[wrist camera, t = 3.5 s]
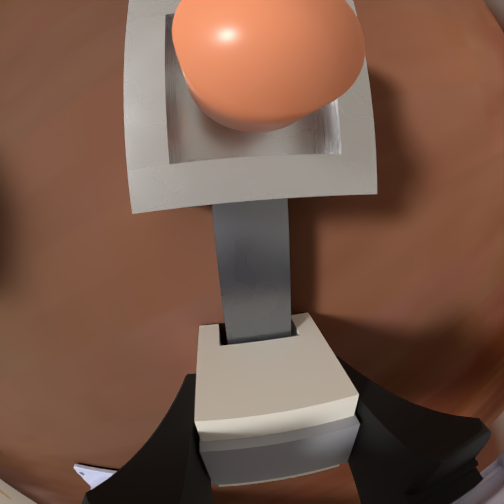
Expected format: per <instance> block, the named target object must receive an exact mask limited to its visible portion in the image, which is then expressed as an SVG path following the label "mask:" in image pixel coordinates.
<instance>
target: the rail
mask: <svg viewBox="0 0 504 504" xmlns="http://www.w3.org/2000/svg"><path fill="white" fill-rule="evenodd" d="M212 213H213V223H214V233H215V243H216V252H217V261H218V270H219V279H220V287H221V296H222V304H223V312H224V320H225V327H226V335H227V342H228V345H232V344H241V343H249V342H257V341H265V340H272V339H279V338H286V337H291V284H290V247H289V220H288V199H273V200H260V201H248V202H236V203H225V204H215V205H212Z"/></svg>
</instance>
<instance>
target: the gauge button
mask: <svg viewBox="0 0 504 504" xmlns="http://www.w3.org/2000/svg"><path fill="white" fill-rule="evenodd" d="M172 38H173V44H174V47H175V51H176V54H177V57H178V60H179V63H180V66H181V69H182V72H183V75H184V78H185V81H186V84H187V87H188V90H189V92H190V94H191V97H192V98H193V100H194V101H195V103H196V105H197V106H198V107H199V108H200V109H201V110H202V111H203V112H204V113H205V114H206V115H207V116H208V117H210V118H211V119H213V120H214V121H215V122H217V123H219V124H221V125H223V126H225V127H228V128H231V129H234V130H238V131H242V132H250V133H262V132H270V131H275V130H278V129H281V128H284V127H287V126H288V125H290V124H292V123H294V122H296V121H298V120H300V119H301V118H303V117H305V116H307V115H309V114H310V113H312V112H314V111H316V110H318V109H320V108H321V107H323V106H325V105H327V104H329V103H331V102H333V101H334V100H336V99H337V98H339V97H340V96H342V95H343V94H344V93H345V92H346V91H347V90H349V88H350V87H351V86H352V85H353V84H354V82H355V81H356V79H357V78H358V76H359V74H360V72H361V69H362V66H363V63H364V58H365V40H364V35H363V31H362V28H361V25H360V23H359V21H358V18H357V17H356V15H355V13H354V11H353V10H352V8H351V7H350V6H349V4H348V3H347V2H346V1H345V0H181V1H180V3H179V5H178V7H177V9H176V11H175V15H174V18H173V24H172Z"/></svg>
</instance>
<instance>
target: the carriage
mask: <svg viewBox="0 0 504 504" xmlns="http://www.w3.org/2000/svg"><path fill="white" fill-rule="evenodd" d="M358 397H359V393H358V392H357V390H356V388H355V387H354V385H353V383H352V382H351V380H350V379H349V377H348V375H347V374H346V372H345V370H344V369H343V367H342V366H341V364H340V362H339V361H338V359H337V358H336V356H335V354H334V353H333V351H332V350H331V348H330V346H329V345H328V343H327V342H326V340H325V338H324V337H323V335H322V334H321V332H320V330H319V329H318V327H317V326H316V324H315V323H314V321H313V319H312V318H311V316H310V315H309V313H302V314H295V315H291V337H286V338H279V339H272V340H265V341H257V342H249V343H241V344H232V345H222V344H221V337H220V330H219V324H213V325H202V326H199V339H198V354H197V371H196V391H195V417H194V422H195V425H196V428H197V431H198V434H199V436H200V454H201V457H202V459H203V461H204V464H205V466H206V469H207V471H208V473H209V476H210V478H211V480H212V482H213V485H218V486H219V487H222V486H236V485H246V484H255V483H262V482H269V481H275V480H281V479H287V478H292V477H297V476H302V475H306V474H311V473H315V472H319V471H323V470H327V469H330V468H334V467H338V466H339V464H341V463H344V462H347V461H348V459H349V456H350V453H351V450H352V447H353V445H354V442H355V439H356V435H357V432H358V429H359V426H360V423H359V421H358V419H357V417H356V416H355V414H354V413H355V409H356V405H357V401H358Z"/></svg>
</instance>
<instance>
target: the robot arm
mask: <svg viewBox="0 0 504 504" xmlns="http://www.w3.org/2000/svg"><path fill="white" fill-rule="evenodd" d="M335 356H336V355H335ZM336 358H337V359H338V361H339V362H340V364H341V366H342V367H343V369H344V370H345V372H346V374H347V375H348V377H349V379H350V380H351V382H352V383H353V385H354V387H355V388H356V390H357V392H358V393H359V397H358V401H357V405H356V409H355V413H354V414H355V416H356V417H357V419H358V421H359V423H360V426H359V429H358V432H357V435H356V439H355V442H354V445H353V447H352V450H351V453H350V456H349V459H348V463H349V466H350V469H351V471H352V474H353V477H354V481H355V484H356V487H357V490H358V494H359V497H360V501H361V504H504V451H503V452H502V453H501V454H500V455H499V456H498V458H497V460H495V461H494V462H493V463H492V464H491V465H489V466H488V467H487V468H486V469H484V470H483V471H482V472H481V473H479V472H478V470H477V469H476V466H477V465H478V462H477V461H476V460H475V457H476V456H477V455H478V453H479V452H480V450H482V448H483V447H484V446H485V444H486V443H487V441H488V440H489V438H490V435H491V431H490V430H489V429H488V428H487V427H486V426H485V425H484V423H483V422H482V421H481V420H480V419H479V418H471V417H463V416H455V415H450V414H446V413H441V412H438V411H434V410H431V409H428V408H425V407H422V406H419V405H416V404H414V403H411V402H409V401H407V400H405V399H402V398H400V397H398V396H396V395H394V394H392V393H390V392H389V391H387V390H385V389H383V388H382V387H380V386H378V385H377V384H375V383H374V382H372V381H371V380H369V379H368V378H366V377H365V376H363V375H362V374H360V373H359V372H358V371H356V370H355V369H354V368H352V367H351V366H350V365H348V364H347V363H346V362H344V361H343V360H342V359H340V358H339V357H338V356H336ZM195 391H196V374H187V375H186V376H185V379H184V381H183V384H182V386H181V388H180V390H179V392H178V394H177V396H176V398H175V400H174V402H173V403H172V405H171V407H170V409H169V411H168V412H167V414H166V415H165V417H164V418H163V420H162V422H161V423H160V425H159V426H158V428H157V429H156V430H155V432H154V433H153V434H152V436H151V437H150V438H149V440H148V441H147V442H146V443H145V444H144V446H143V447H142V448H141V449H140V450H139V451H138V452H137V453H136V454H135V455H134V456H133V457H132V458H131V459H130V460H129V461H128V462H127V463H126V464H125V465H124V466H123V467H121V468H120V469H119V470H118V471H114V470H107V469H101V468H95V467H90V466H85V465H80V464H75V465H74V469H75V470H76V471H77V473H78V474H79V475H80V476H81V477H82V478H83V479H84V480H85V481H86V482H87V483H88V484H89V485H90V486H91V490H90V491H88V492H86V493H85V496H84V499H83V501H82V504H213V499H212V489H211V478H210V476H209V473H208V471H207V469H206V466H205V464H204V461H203V459H202V457H201V454H200V436H199V434H198V431H197V428H196V425H195V422H194V417H195Z"/></svg>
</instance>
